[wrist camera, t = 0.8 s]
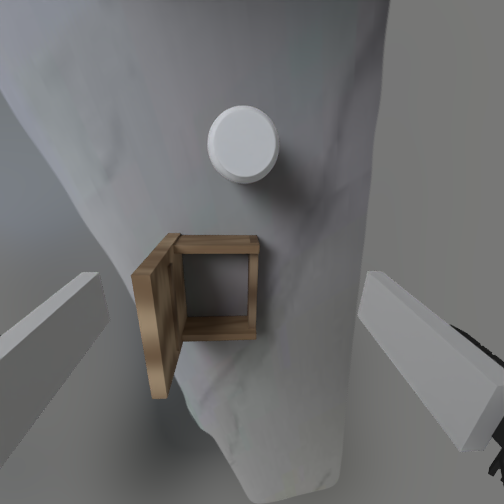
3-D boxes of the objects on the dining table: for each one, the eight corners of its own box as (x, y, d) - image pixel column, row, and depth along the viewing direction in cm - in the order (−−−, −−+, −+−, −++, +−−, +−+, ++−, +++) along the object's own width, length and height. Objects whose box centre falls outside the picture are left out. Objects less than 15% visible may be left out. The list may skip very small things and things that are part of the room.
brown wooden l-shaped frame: (168, 233, 31) (131, 275, 20) (256, 233, 32) (268, 274, 21) (177, 324, 36) (152, 399, 25) (253, 322, 37) (262, 394, 26)
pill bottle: (277, 134, 28) (302, 120, 18) (255, 186, 30) (267, 200, 19) (226, 109, 27) (220, 78, 16) (206, 165, 28) (191, 168, 18)
